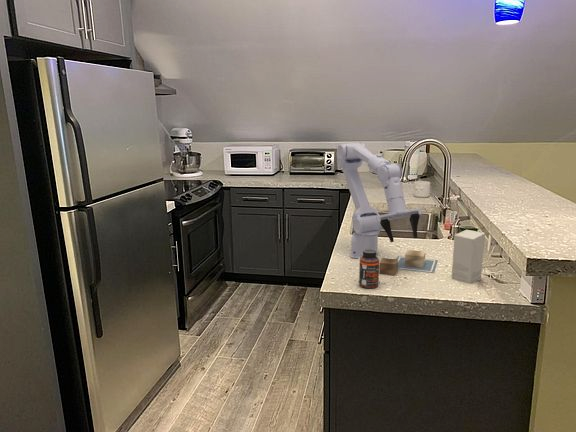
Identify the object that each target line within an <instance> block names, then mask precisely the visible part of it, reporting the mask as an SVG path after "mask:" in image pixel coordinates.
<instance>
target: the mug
mask: <svg viewBox="0 0 576 432" xmlns="http://www.w3.org/2000/svg"><path fill="white" fill-rule="evenodd" d="M410 189H411V191H412V192H413V196H414V197H416V198H422V199H423V198H424V199H425V198H429V197H430V194H431V182H430V181H425V180H424V181H423V180H421V181H418V180H417V181H414V182H413V184H411V186H410Z"/></svg>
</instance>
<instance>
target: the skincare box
mask: <svg viewBox="0 0 576 432" xmlns="http://www.w3.org/2000/svg"><path fill="white" fill-rule="evenodd" d="M485 237H486V233H485V232H483V231H482V232H481V231H477V230H470V229H465V230H463V231H460V232H458V233H456V234H454V238H453V239H454V241H453V251H452V266H451V280H455V281H459V282H463V283H466V284H472V283H475V282H479V281H480V280H482V275H483V274H482V271H483V261H484V260H483V259H484V250H485V249H484V248H485V239H486V238H485Z"/></svg>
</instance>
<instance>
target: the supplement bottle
mask: <svg viewBox="0 0 576 432" xmlns="http://www.w3.org/2000/svg"><path fill="white" fill-rule="evenodd" d="M379 268H380V259H379V258H378V256H376V251H375V250H372V249H366V250H363V256H360V257H359V271H358V273H359V276H358V281H359V282H358V284H359V286H360V287H362V288H364V289H375V288H377V287H378V285H379V283H380V282H379V277H380V274H379Z"/></svg>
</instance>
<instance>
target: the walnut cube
mask: <svg viewBox="0 0 576 432" xmlns="http://www.w3.org/2000/svg"><path fill="white" fill-rule="evenodd" d="M398 270H399V269H398V260H397V259H394V258H385V257H382V259H380V260H379V275H384V276H394V277H395V276H396V275H397V273H398Z"/></svg>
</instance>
